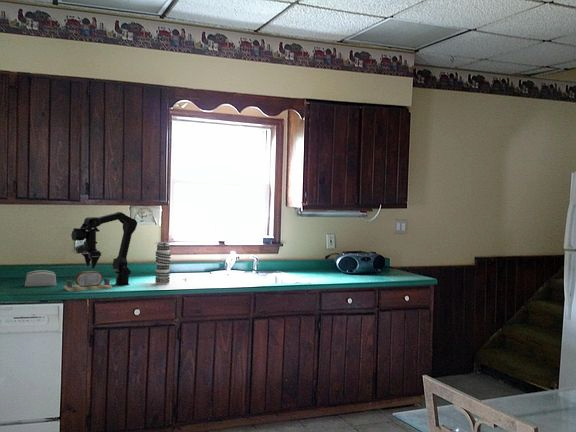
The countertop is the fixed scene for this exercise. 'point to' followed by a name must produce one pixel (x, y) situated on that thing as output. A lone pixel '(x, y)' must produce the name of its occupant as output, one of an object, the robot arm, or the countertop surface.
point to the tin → (88, 278)
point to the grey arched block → (40, 278)
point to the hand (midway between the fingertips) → (90, 267)
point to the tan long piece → (80, 288)
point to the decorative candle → (162, 263)
